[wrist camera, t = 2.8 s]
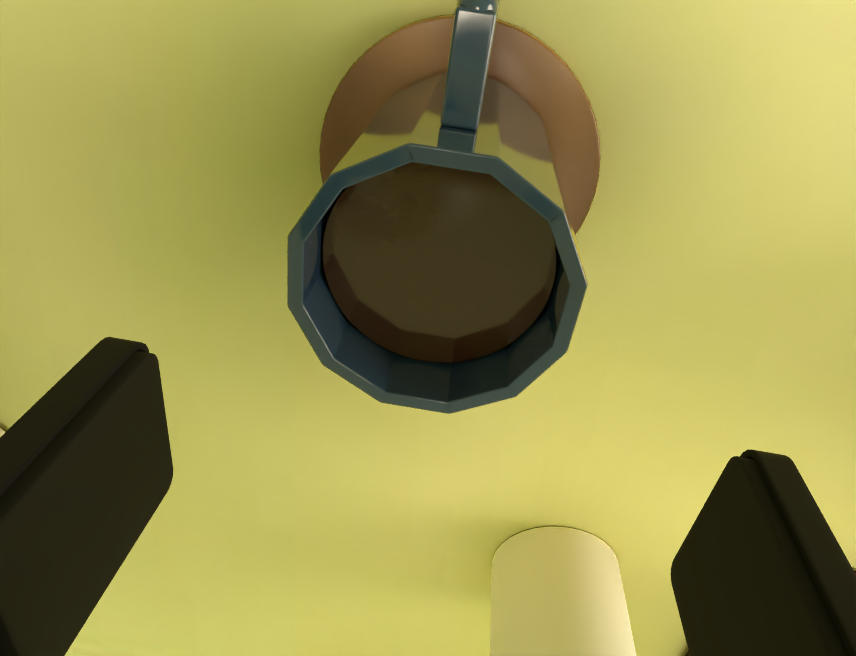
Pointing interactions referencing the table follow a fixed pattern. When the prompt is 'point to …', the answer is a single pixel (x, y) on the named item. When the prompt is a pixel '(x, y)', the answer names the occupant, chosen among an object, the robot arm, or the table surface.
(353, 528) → the table surface
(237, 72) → the table surface
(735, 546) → the robot arm
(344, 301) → the mug
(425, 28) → the coaster
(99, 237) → the table surface
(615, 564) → the cylindrical container
